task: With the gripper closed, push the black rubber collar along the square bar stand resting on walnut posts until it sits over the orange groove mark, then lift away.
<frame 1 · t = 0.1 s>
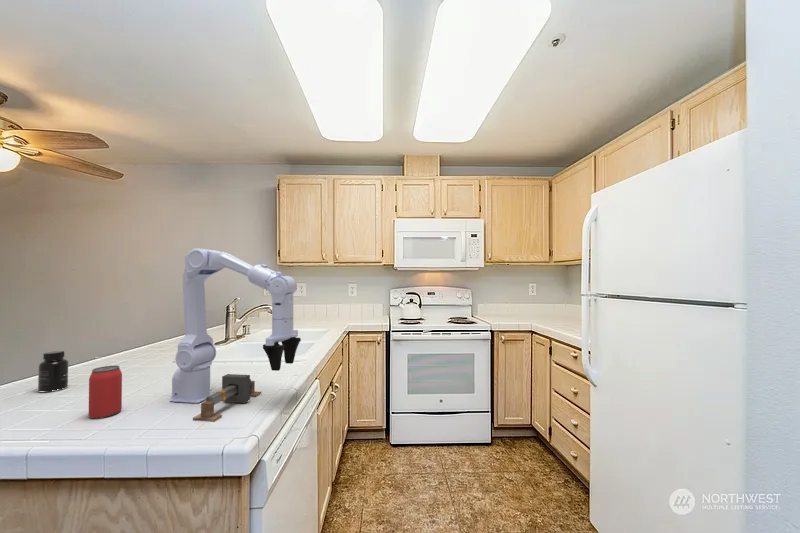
hand: (282, 366, 98), 10 cm above the worktop, tool pointing down, fingers open, 7 cm apart
supplement bottle: (53, 390, 112), on the worktop
square bar stand: (230, 405, 95), on the worktop
collar: (236, 388, 98), point 4 cm above the worktop, slide at 0.0 cm
beer can: (105, 415, 90), on the worktop
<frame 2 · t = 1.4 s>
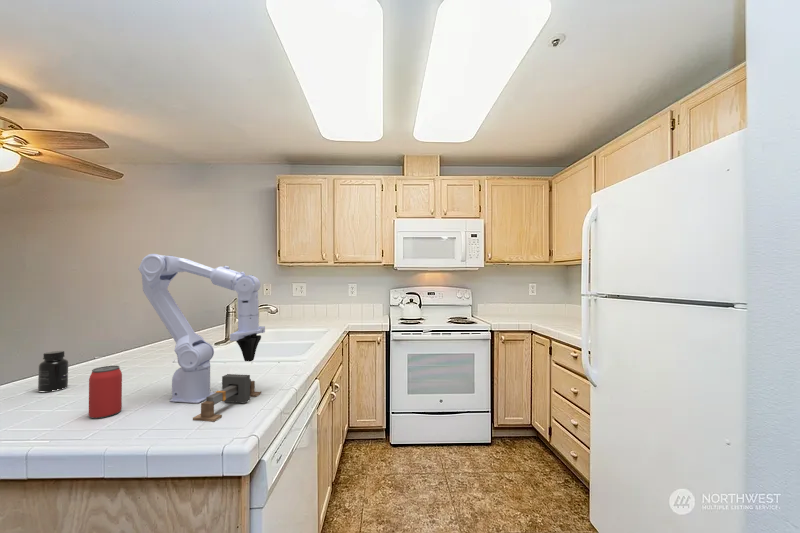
hand: (249, 360, 104), 10 cm above the worktop, tool pointing down, fingers closed
nothing on the worktop moved.
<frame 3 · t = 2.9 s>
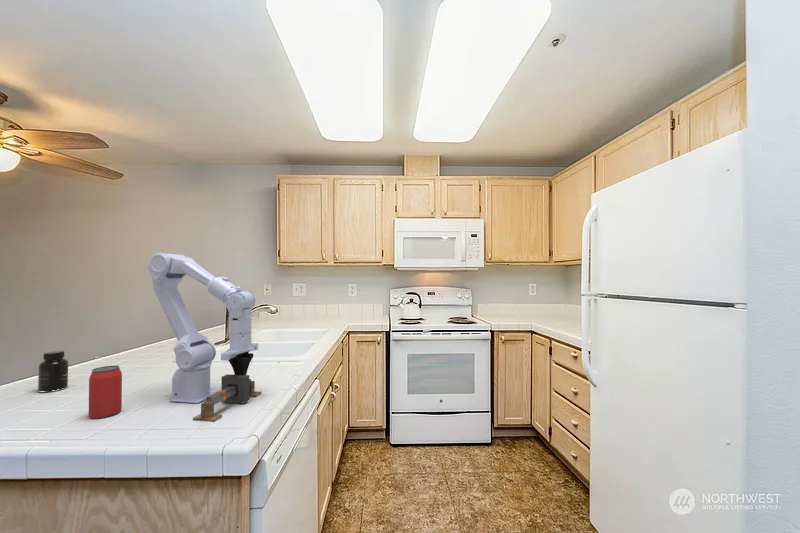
hand: (240, 379, 100), 6 cm above the worktop, tool pointing down, fingers closed
collar: (235, 388, 98), point 4 cm above the worktop, slide at -0.3 cm, touching gripper
everything else where it was.
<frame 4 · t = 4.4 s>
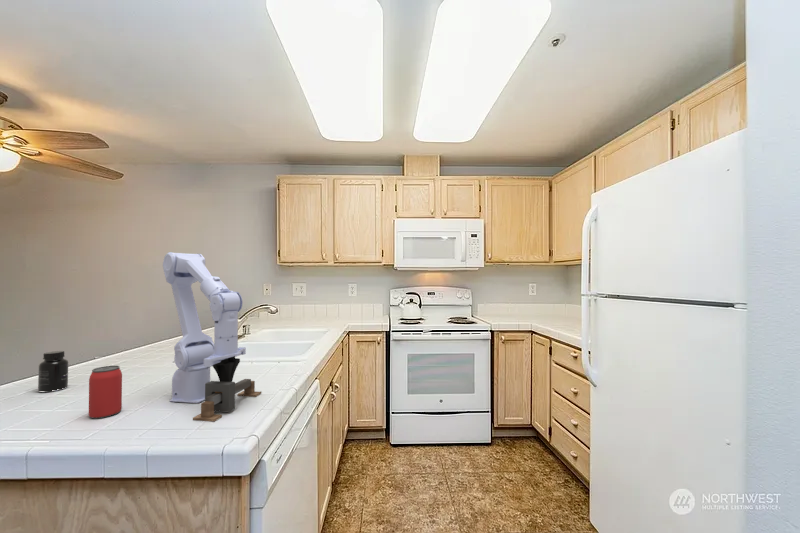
hand: (226, 386, 94), 6 cm above the worktop, tool pointing down, fingers closed
collar: (220, 396, 91), point 4 cm above the worktop, slide at -6.7 cm, touching gripper
everything else where it was.
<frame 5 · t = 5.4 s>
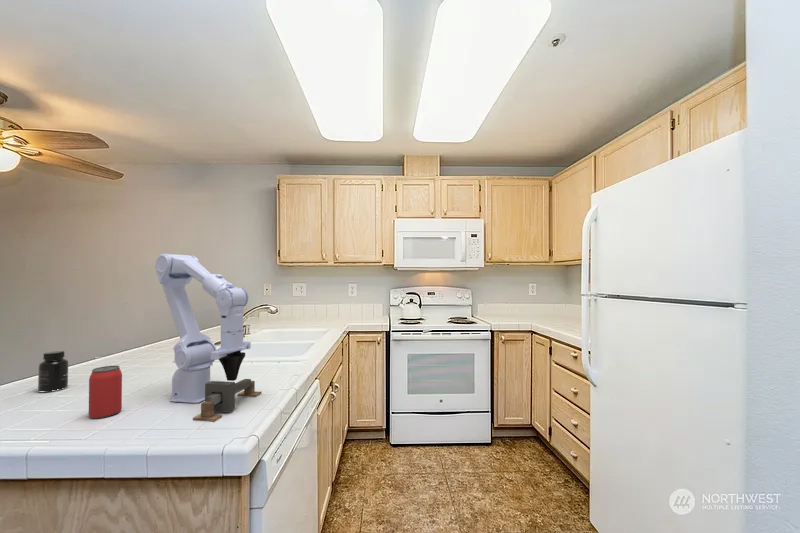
hand: (231, 379, 96), 7 cm above the worktop, tool pointing down, fingers closed
collar: (220, 396, 91), point 4 cm above the worktop, slide at -6.7 cm
everything else where it was.
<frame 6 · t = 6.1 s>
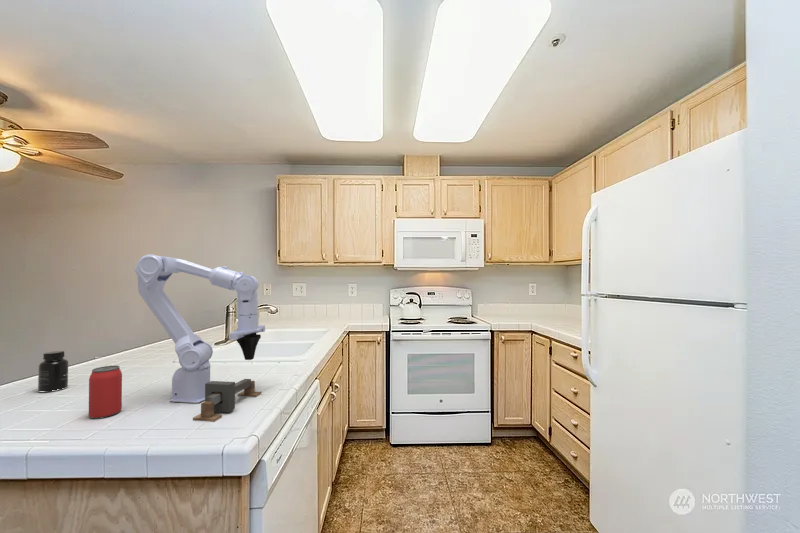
hand: (249, 359, 105), 10 cm above the worktop, tool pointing down, fingers closed
nothing on the worktop moved.
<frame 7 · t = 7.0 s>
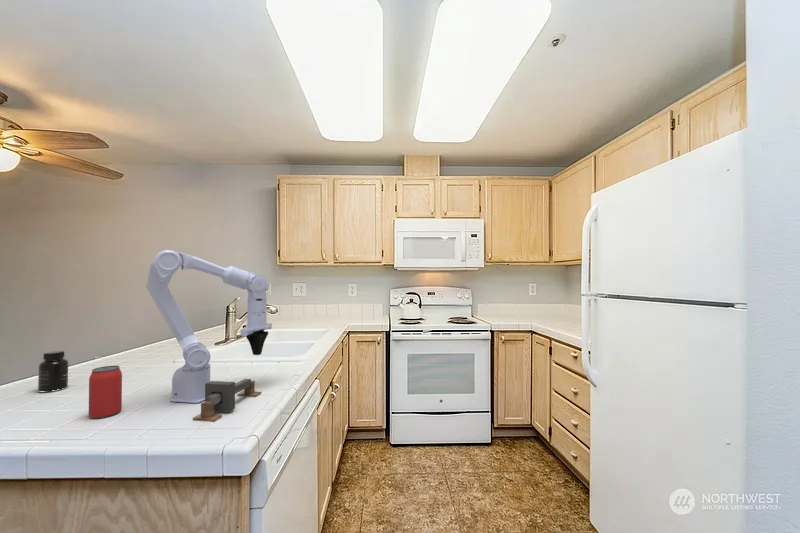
hand: (257, 354, 112), 10 cm above the worktop, tool pointing down, fingers closed
nothing on the worktop moved.
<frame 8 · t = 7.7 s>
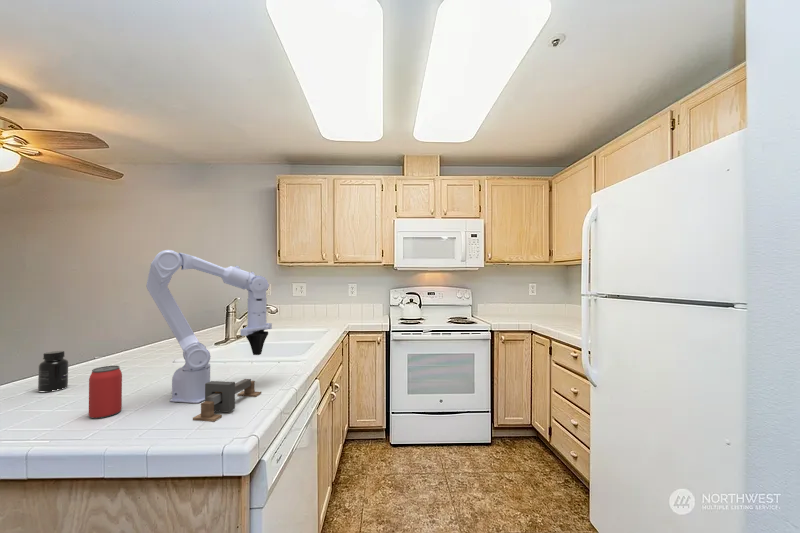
hand: (257, 354, 112), 10 cm above the worktop, tool pointing down, fingers closed
nothing on the worktop moved.
at the end: collar slide at -6.7 cm; collar moved 6.7 cm from its start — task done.
